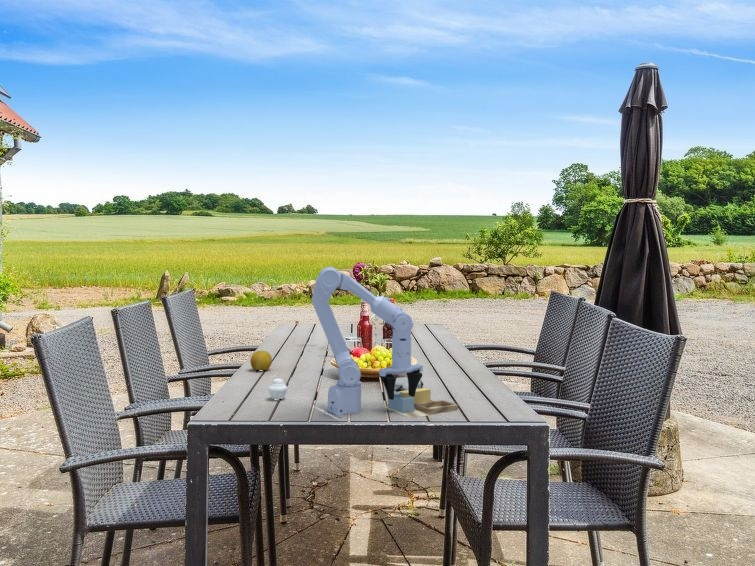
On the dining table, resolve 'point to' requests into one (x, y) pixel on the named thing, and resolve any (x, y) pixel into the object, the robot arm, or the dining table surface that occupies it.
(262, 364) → the fruit
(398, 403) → the blue notched block
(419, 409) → the jig
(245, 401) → the dining table surface
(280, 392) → the white lidded jar
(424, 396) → the yellow rectangular block
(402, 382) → the robot toy
